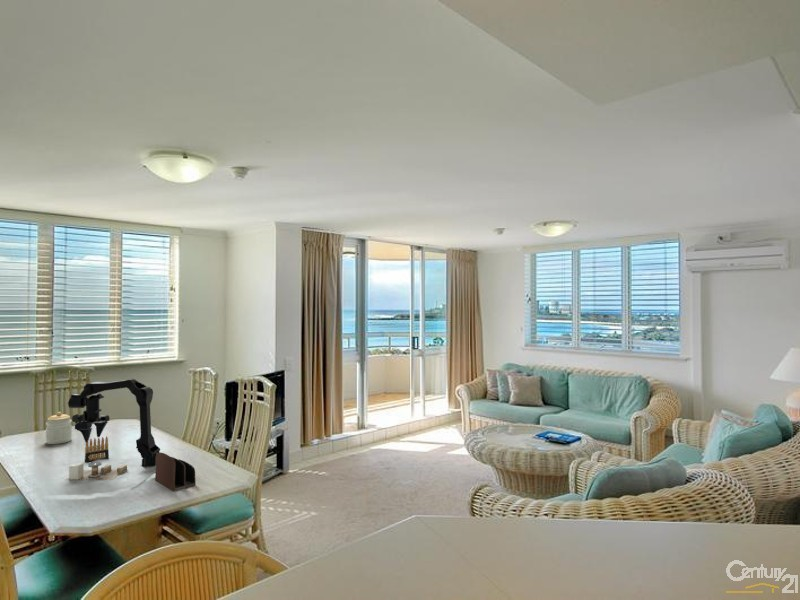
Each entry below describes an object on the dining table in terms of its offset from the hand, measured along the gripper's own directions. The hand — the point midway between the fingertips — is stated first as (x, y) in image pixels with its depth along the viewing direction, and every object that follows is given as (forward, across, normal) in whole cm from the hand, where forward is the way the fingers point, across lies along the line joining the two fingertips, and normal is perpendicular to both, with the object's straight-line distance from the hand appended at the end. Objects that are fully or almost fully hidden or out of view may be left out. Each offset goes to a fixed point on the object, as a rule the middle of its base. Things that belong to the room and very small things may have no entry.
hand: (92, 439), depth 244 cm
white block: (+13, +17, +3) cm, 22 cm away
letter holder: (+15, +20, +50) cm, 56 cm away
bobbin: (+13, +14, +10) cm, 22 cm away
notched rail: (+13, +9, +16) cm, 22 cm away
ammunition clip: (+15, -13, -6) cm, 21 cm away
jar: (+15, -51, -52) cm, 74 cm away
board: (+14, +13, +10) cm, 22 cm away
